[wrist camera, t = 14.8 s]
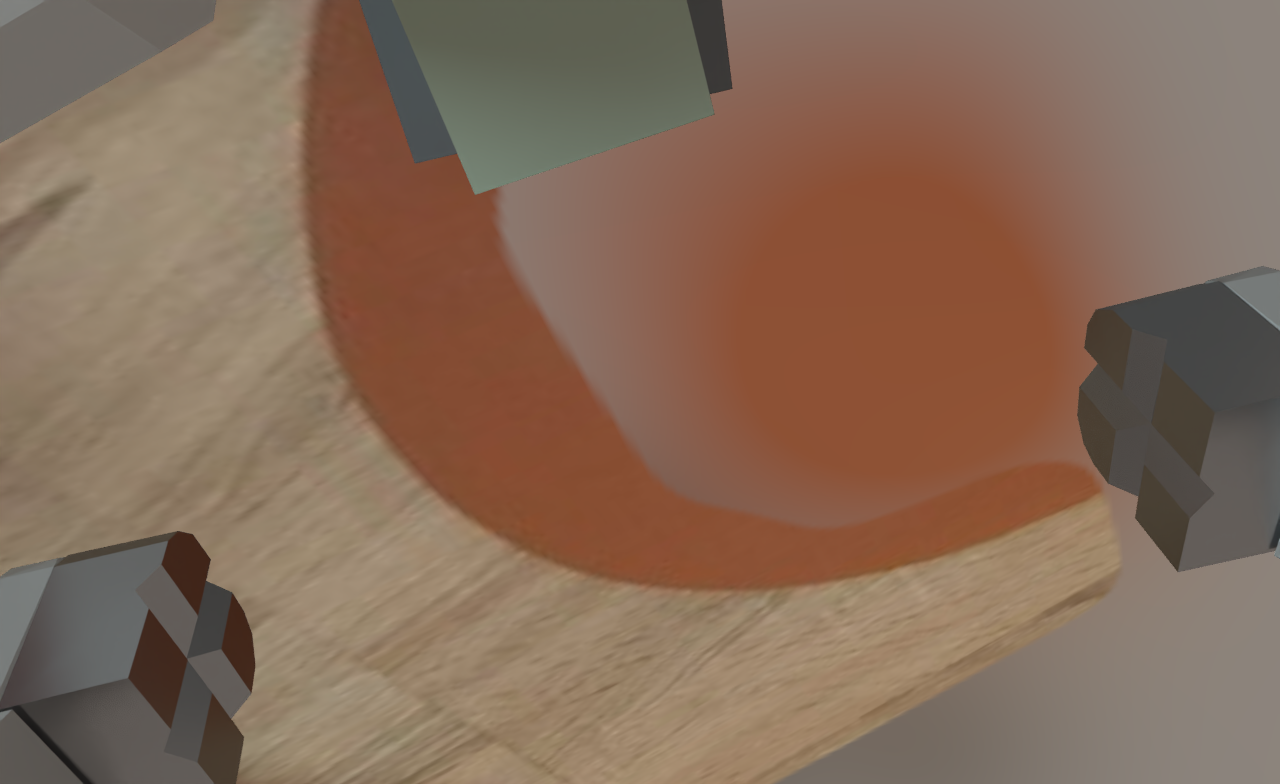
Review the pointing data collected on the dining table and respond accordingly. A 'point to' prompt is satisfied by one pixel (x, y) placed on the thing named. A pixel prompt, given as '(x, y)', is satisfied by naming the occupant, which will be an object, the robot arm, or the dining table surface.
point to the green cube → (554, 77)
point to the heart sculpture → (80, 48)
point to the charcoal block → (421, 109)
